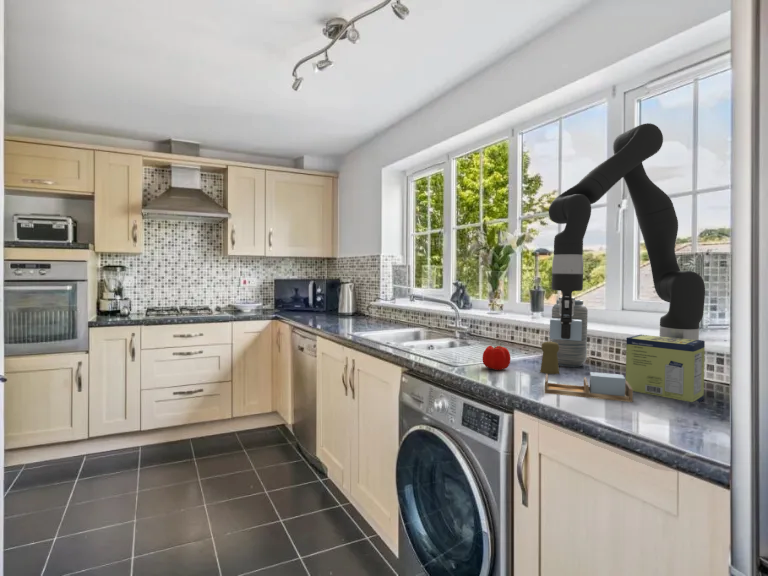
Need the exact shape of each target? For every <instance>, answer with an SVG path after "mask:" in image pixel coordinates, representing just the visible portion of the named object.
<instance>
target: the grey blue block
mask: <svg viewBox="0 0 768 576" xmlns="http://www.w3.org/2000/svg"><path fill="white" fill-rule="evenodd" d="M560 321H561V319H555V318H552V317H551V318H549V339H550V340H551V339H560V340H575V341H581V339H582V320H575V319H572V323H571V324H570V325H571V333H570V339H562V338H561V323H560Z"/></svg>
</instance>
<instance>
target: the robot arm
mask: <svg viewBox="0 0 768 576" xmlns="http://www.w3.org/2000/svg"><path fill="white" fill-rule="evenodd" d="M663 135H664V134H663V133H662V131H661V129H660V127H658V126H657V125H655V124H654V123H651V122H650V123H649V122H648V123H643V124H640V125H637V126H635V127H633V128H630V129H629V130H627V131H625V132H623V133H621V134H619V135H618V136H617V137H616V138H615V139H614V141H613V145H612V149H613V155H612V156H610V157H608V158H607V159H606V160H604V161H602V162H601V163H599V164H598V165H597V166H595V167H594V168H593V169H591V170H590V171H589V172H588V173H587V174H586V175H585V176H584V177H583V178H581V180H580V181H578V182H577V184H575V185H573V186H572V187H570V188H569V189H567V190H566V191H564V192H562V193H561V194H559V195H558V196H557V197H555V198H554V199H553V200H552V202H551V203H550V205H549V207H548V216H549V219H550V220H551V221H552V222H553V223H556V224H560V225H565V227H564V229H563V230H562V231H561V232H559V233H557V234H555V235H554V240H553V256H552V257H553V258H552V265H551V266H552V267H551V289H552V290H553V291H560V292H562V294H561V297H558V300H559V314H560V315H561V321H560V323H561V338H562V339H570V333H571V325H570V324H571V323H572V316H573V314H574V305H575V300H576V298H575V297H572V295H573V293H574V292H582V291H583V289H584V288H583V286H584V256H583V254H584V238H585V235H586V233H587V229H588V225H589V222H590V219H591V215H592V205H593V204H595V203H596V202H598V201H599V200H600V199H602V198H603V197H604V195H605V194H607V192H609V191H610V190H611V189H612V188H613V187H614V186H615V185H617V183H618V182H620V180H621V179H623V180H624V182H625V184H626V187H627V190H628V193H629V196H630V199H631V202H632V206H633V208H634V213H635V217H636V220H637V223H638V226H639V230H640V232H641V234H642V238H643V241H644V242H643V243H644V246H645V249H646V252H647V256H648V259H649V263H650V264H649V265H650V269H651V275H652V276H651V277H652V281H653V287H654V290H655V293H656V294H657V296H658V298H659V299H661V300H662V301H664V302H665V303H669V309H668V311H667V312H666V314H664V315H662V316H660V319H659V337H670V338H681V339H692V340H700V339H699V338H700V336H699V335H700V324H701V322H702V320H703V317H704V316H703V315H704V309H705V301H706V299H705V298H706V285H705V281H704V279H703V278H702V276H701V275H700V274H699V273H697V272H696V271H691V270H690V271H689V270H681V268H680V266H679V263H678V260H677V256H676V244H677V243H676V242H677V237H678V231H679V219H678V216H677V212H676V210H675V207H674V203H673V201H672V199H671V197H669V194H667V193H666V192H664V190H662V189H661V188H660V187H659V186H657V184H655V183H654V181H652V180H651V179H650V177H649V176H648V175H647V173H646V169H645V167H644V165H643V162H644V161H646V160H648V159H650V158H651V157H653V156H655V155H656V154H657V153H658V152H659V151H660V150H661V148H662V147H663V143H664V136H663Z"/></svg>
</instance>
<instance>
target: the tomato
mask: <svg viewBox="0 0 768 576" xmlns="http://www.w3.org/2000/svg"><path fill="white" fill-rule="evenodd" d="M482 364H483V365H484V366H485V367H486V368H487V369H489V370H491V369H493V370H494V371H501V370H505V369H507V368H508V367H509V366H510V364H511V353H510V351H509V350H508V348H506V347H503V346H501V345H496V346H494V347H493V346H492V345H488V346H487V347H486V349H485V350H483V353H482Z"/></svg>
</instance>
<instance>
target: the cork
mask: <svg viewBox="0 0 768 576" xmlns="http://www.w3.org/2000/svg"><path fill="white" fill-rule="evenodd" d="M541 350H542V353H543V354H542V356H541V357H542V358H541V363H540V371H539V373H542V374H548V375H560V369H559V365H558V357H557V352H558V351H559V345H558V343H556V342H551V340H550V341H549V340H548V341H543V342H542V343H541Z"/></svg>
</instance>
